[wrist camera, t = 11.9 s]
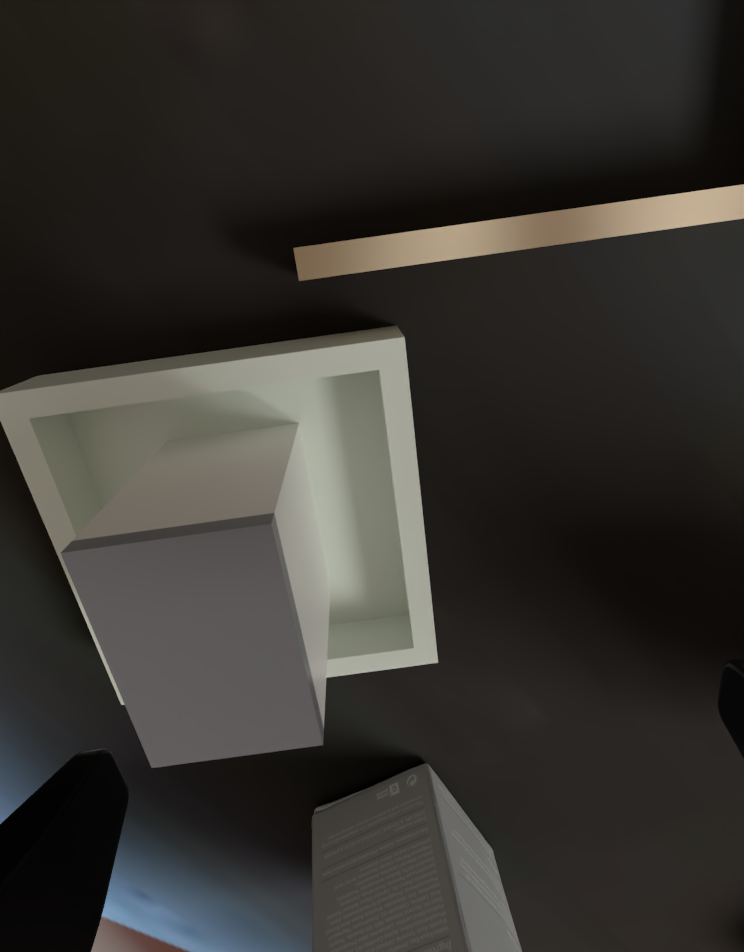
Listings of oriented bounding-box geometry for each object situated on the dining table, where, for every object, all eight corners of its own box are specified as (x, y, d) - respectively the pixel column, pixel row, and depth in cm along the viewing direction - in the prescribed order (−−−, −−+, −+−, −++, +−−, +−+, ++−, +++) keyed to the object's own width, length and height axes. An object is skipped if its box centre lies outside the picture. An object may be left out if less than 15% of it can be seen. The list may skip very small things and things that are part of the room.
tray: (396, 325, 17) (404, 336, 14) (428, 618, 21) (437, 662, 19) (37, 375, 17) (-11, 395, 15) (145, 656, 21) (121, 704, 19)
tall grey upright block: (299, 422, 17) (270, 524, 11) (330, 584, 20) (323, 744, 13) (166, 441, 17) (60, 553, 11) (214, 600, 20) (151, 767, 13)
